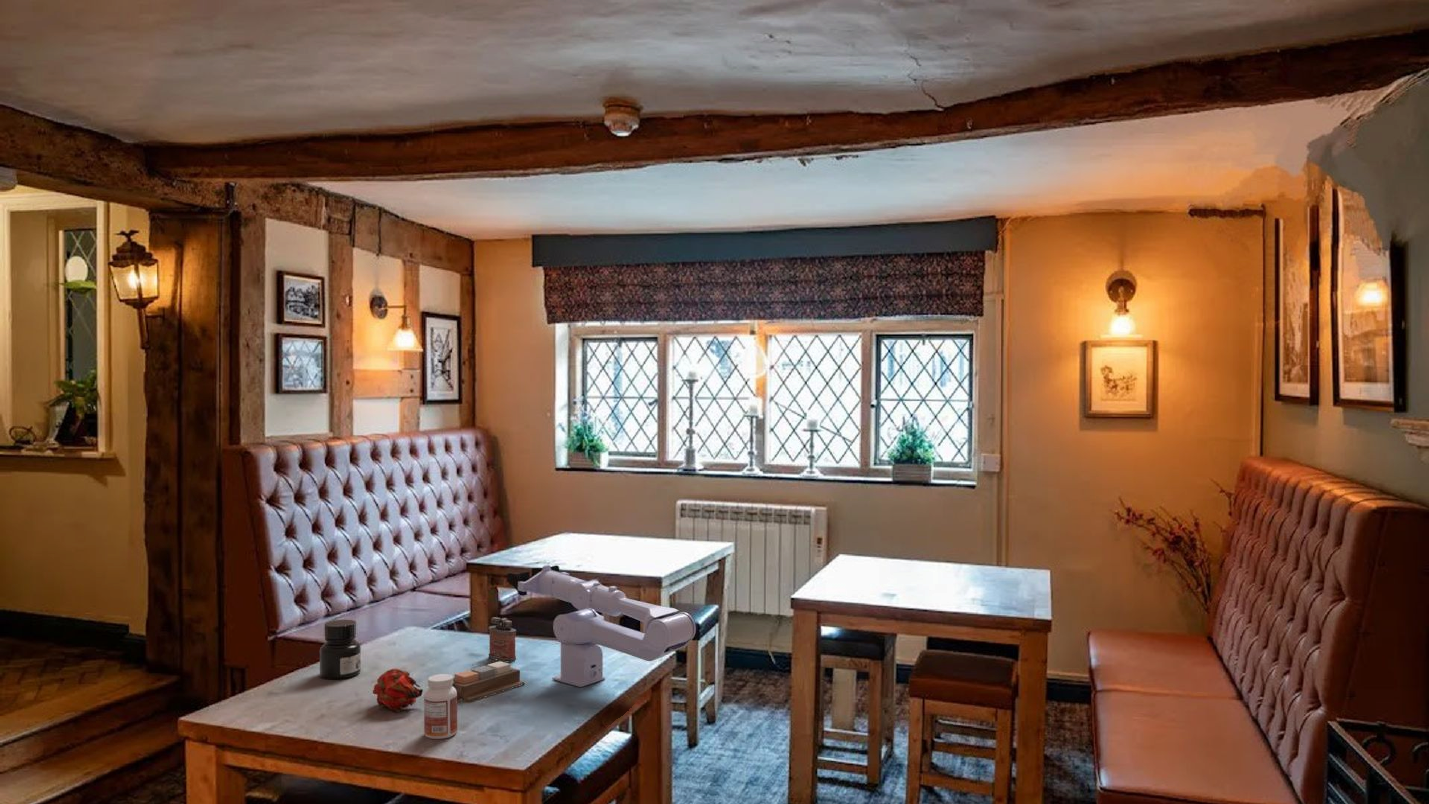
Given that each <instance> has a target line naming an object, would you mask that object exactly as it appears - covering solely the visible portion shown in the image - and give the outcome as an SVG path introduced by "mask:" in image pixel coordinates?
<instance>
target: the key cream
mask: <svg viewBox="0 0 1429 804" xmlns="http://www.w3.org/2000/svg"><path fill="white" fill-rule="evenodd" d="M486 666H487V667H490V668H494V669H495V676H496V675H500V674H503V673H506V672H510V668H511V663H509V662H503V661H496V662H493V663H489V664H487V665H486Z"/></svg>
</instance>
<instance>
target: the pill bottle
mask: <svg viewBox="0 0 1429 804" xmlns="http://www.w3.org/2000/svg"><path fill="white" fill-rule="evenodd" d="M453 678H454V676H453V675H452V674H449V673H441V674H440V673H439V674H434V675H430V676H429V677H428V679H427V686H428V688H427V689H426V690H425V692H424V694H423V704H424V705H423V712H424V713H423V716H424V717H423V718H424V719H423V720H424V721H423V723H424V724H423V726H424V728H423V732H424V735H425V737H426V738H428V739H432V740H443V739H444V740H445V739H448V738H451V737H453V736H454V735H456V734H457V732H458V698H457V691H456V689H455V688H454V687H453V686H452V685H453Z"/></svg>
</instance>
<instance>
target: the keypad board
mask: <svg viewBox="0 0 1429 804" xmlns="http://www.w3.org/2000/svg"><path fill="white" fill-rule="evenodd" d="M520 675H521V670H520V669H517V668H513V667H510V672H506V673H503V674H500V675H496V676H493V677H489V678H486V679H483V680H479V681H476V682H473V683H469V684H466V685H465V684H461V683H458V682H455V681H454V677H453V685H452V686H453V687H454V688H455V689H456V691H457V700H461V699H462V701H464V700H465V701H464V702H467V703H471V702H474V701H477V700H476V699H478V700H480V698H481V699H484V698H486V697H485V696H487V697H489V696H493V695H492V694H494V693H497V694H499V692H500V693H502V692H501V691H503V690H506V691H509V690H508V689H510V688H512V687H516V686H519V685H521V684H525V682H524V681H523V680H520V679H521V676H520ZM519 687H520V686H519ZM516 688H517V687H516ZM510 690H511V689H510ZM503 692H504V691H503ZM494 695H495V694H494ZM473 700H474V701H473Z"/></svg>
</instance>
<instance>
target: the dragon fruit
mask: <svg viewBox="0 0 1429 804" xmlns="http://www.w3.org/2000/svg"><path fill="white" fill-rule="evenodd" d="M414 685H415V686H416V687H415V686H414ZM417 687H418V688H417ZM419 688H420V689H419ZM423 690H424V689H423V688H421V687H420V685H419V684H417V680H416V679H414V678H413V677H411V676H410V672H408V671H406V670H405V671H404V670H401V669H398V668H392V669H389V670H386V671H385V672H384V673H382V674H381V675H380V676H379V677H378V678H377V681H376V683H375V684H374V686H373V690H372V694H373V695H376V702H377V705H378V707H379V708H383V707H385V706H386V707H388V709H390V710H392V711H393V712H404V710H405V709H402V707H403V706H404V707H405V706H409V705H410V706H413V705H414V704H415V703H416V699H417V698H419V697H421V696H422V695H423Z"/></svg>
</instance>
